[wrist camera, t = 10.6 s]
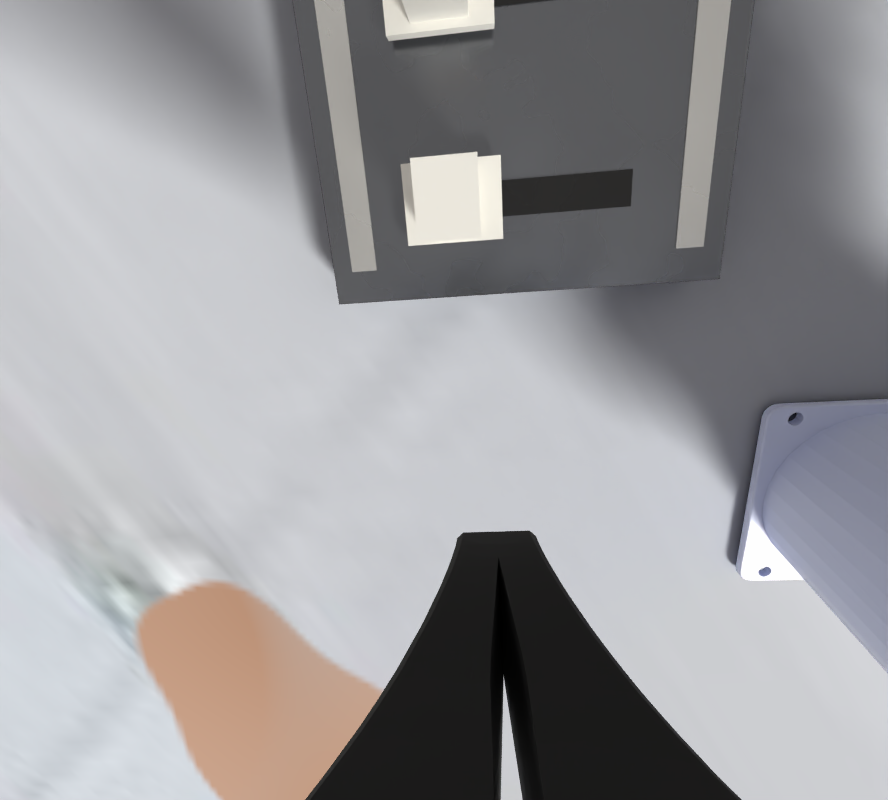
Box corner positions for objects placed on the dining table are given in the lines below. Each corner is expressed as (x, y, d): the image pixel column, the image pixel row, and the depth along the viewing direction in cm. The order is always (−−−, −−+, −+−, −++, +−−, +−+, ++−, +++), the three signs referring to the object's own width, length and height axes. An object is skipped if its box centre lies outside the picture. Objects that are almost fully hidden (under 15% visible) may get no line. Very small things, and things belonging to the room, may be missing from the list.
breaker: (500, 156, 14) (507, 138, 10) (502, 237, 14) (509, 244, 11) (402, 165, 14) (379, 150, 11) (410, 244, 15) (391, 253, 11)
